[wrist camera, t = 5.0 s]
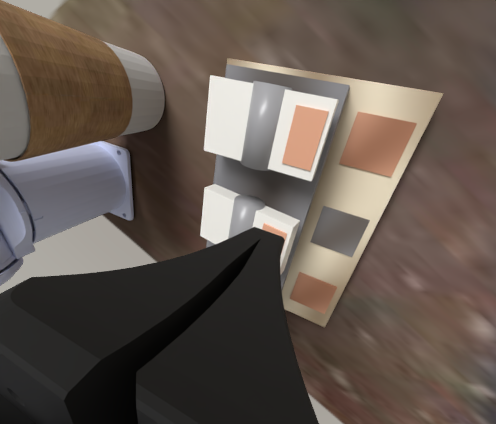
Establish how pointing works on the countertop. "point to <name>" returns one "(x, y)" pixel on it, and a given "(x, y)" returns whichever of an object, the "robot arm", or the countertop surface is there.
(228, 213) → the rocker middle
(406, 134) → the switch unit
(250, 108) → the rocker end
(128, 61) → the coffee cup
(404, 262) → the countertop surface
